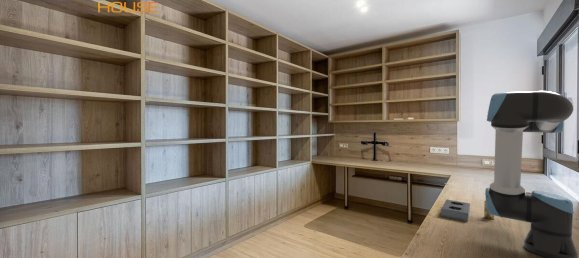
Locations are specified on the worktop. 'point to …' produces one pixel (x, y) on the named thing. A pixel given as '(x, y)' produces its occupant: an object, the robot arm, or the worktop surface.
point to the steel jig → (455, 210)
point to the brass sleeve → (487, 213)
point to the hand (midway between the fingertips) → (508, 181)
